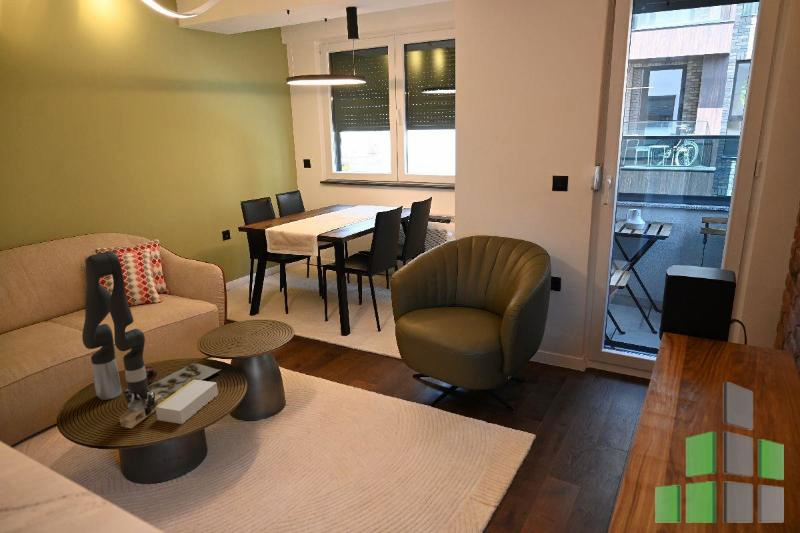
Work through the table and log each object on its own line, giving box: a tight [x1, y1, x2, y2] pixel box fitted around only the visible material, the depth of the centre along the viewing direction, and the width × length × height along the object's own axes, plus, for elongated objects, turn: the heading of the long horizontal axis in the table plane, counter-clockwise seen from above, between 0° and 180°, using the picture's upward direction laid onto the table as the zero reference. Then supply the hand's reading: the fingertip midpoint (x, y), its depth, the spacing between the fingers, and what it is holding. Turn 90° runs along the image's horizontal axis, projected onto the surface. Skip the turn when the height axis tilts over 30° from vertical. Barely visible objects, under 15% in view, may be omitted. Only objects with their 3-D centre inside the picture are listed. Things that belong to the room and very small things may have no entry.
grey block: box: [127, 400, 145, 412], centre depth 205 cm, size 4×4×3 cm
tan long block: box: [119, 395, 164, 429], centre depth 209 cm, size 5×18×4 cm, turn 165°
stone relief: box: [147, 362, 222, 401], centre depth 236 cm, size 32×3×20 cm
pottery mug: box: [144, 365, 158, 384], centre depth 239 cm, size 12×10×8 cm
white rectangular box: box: [155, 379, 219, 425], centre depth 215 cm, size 12×24×6 cm, turn 164°
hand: (142, 413), depth 209 cm, fingers closed on tan long block, 5 cm apart
